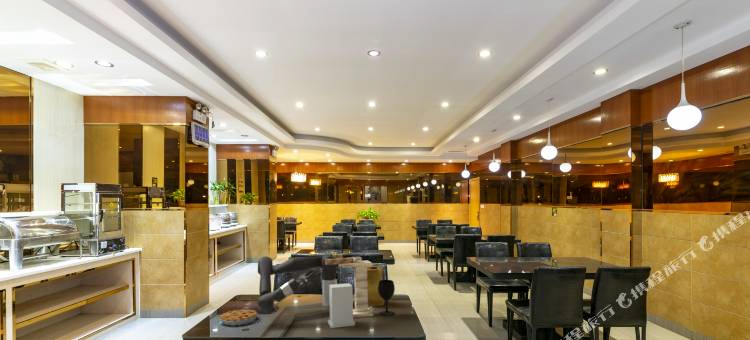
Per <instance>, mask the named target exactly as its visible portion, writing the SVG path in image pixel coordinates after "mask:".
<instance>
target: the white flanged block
mask: <svg viewBox="0 0 750 340" xmlns="http://www.w3.org/2000/svg"><path fill="white" fill-rule="evenodd" d="M353 291H354V290H353V285H352V284H351V283H350V282H349V283H348V282H346V283H336V284H334V285H329V300H330V306H329V319H327V324H328V325H329V328H330V329H333V328H334V329H335V328H336V329H337V328H343V327H344V328H345V327H353V326H356V322H355V321H354V318H353V309H354V307H353V305H354V303H353V301H354V300H353V298H354V297H353V296H354V295H353Z"/></svg>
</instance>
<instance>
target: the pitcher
mask: <svg viewBox="0 0 750 340" xmlns="http://www.w3.org/2000/svg"><path fill="white" fill-rule="evenodd" d="M383 270H384V266H376V265H375V266H373V265H372V266H367V289H368V307H369V306H370V307H380V306H383V305H385V302H384V301H385V300H384V299H383V298H381V296H380V295H379V293H378V284H379V281H380V280H384V278H383Z"/></svg>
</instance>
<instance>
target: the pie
mask: <svg viewBox="0 0 750 340" xmlns="http://www.w3.org/2000/svg"><path fill="white" fill-rule="evenodd" d="M258 315H259V314H258V311H256V310H255V309H244V308H241V309H234V310H228V311H227V312H224V313H222V314H220V316H219V320H220V321H221V324H222V325H224V324H225V326H228V325H231V326H230V327H236V326H235V325H238V326H243V324H244V325H247V324H251V323H253V322H254V321H256V318H257V317H258Z"/></svg>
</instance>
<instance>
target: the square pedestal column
mask: <svg viewBox="0 0 750 340" xmlns="http://www.w3.org/2000/svg"><path fill="white" fill-rule="evenodd" d="M339 265H340V267H342V269H349V268H353V271H354V272H353V274H354V275H353V276H354V308H353V319H355V318H365V317H373V316H374V311H373V310H371V308H370V307H369V305H368V289H367V267H369V266H373V264H372V262H371V261H369V260H368V259H367V260H362V263H347V264H339Z"/></svg>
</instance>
